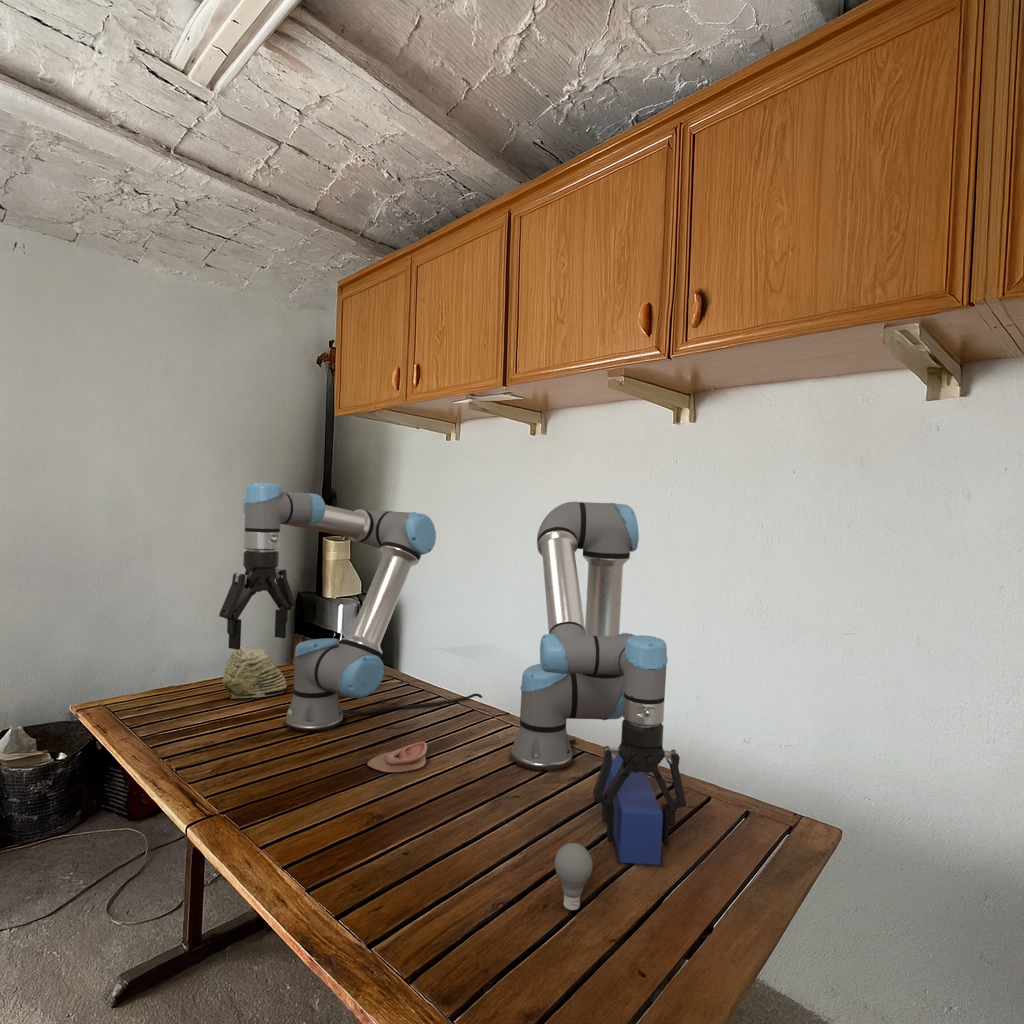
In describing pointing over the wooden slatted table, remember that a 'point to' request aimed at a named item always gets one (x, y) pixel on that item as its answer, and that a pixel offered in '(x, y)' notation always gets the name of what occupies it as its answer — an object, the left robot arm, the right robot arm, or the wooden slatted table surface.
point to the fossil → (252, 674)
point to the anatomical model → (401, 759)
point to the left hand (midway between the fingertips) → (258, 642)
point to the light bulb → (573, 872)
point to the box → (636, 819)
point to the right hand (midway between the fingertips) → (637, 840)
